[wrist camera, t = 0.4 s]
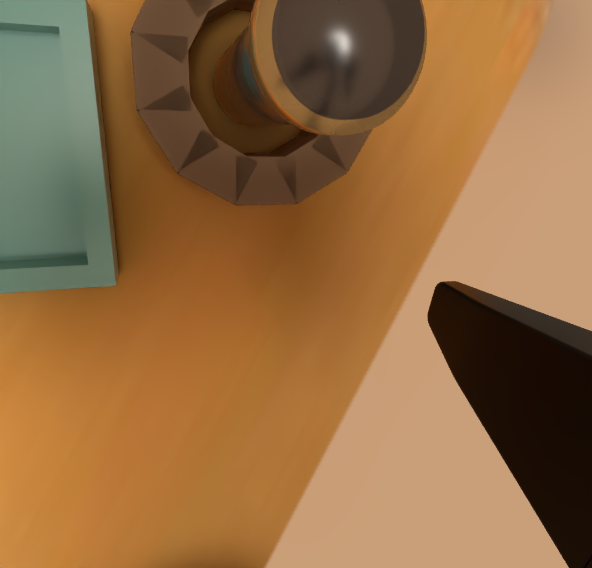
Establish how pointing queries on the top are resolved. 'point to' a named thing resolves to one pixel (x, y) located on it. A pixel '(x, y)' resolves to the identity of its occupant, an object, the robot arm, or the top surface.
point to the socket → (193, 130)
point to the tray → (52, 151)
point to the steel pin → (323, 64)
